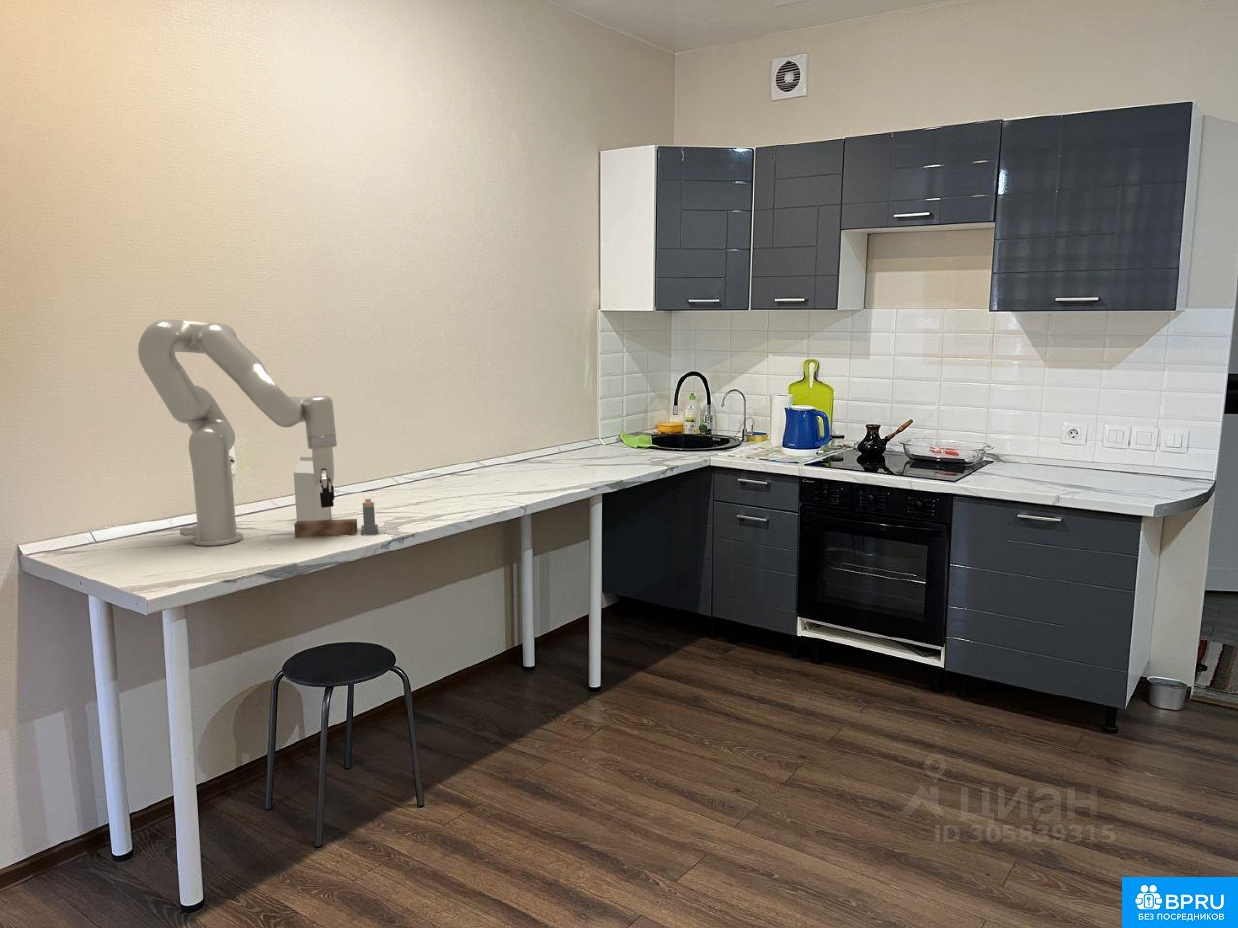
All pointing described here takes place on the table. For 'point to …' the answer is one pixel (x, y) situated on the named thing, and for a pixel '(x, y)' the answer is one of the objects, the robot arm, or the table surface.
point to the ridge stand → (369, 518)
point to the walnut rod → (325, 528)
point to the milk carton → (308, 493)
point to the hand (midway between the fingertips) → (328, 503)
